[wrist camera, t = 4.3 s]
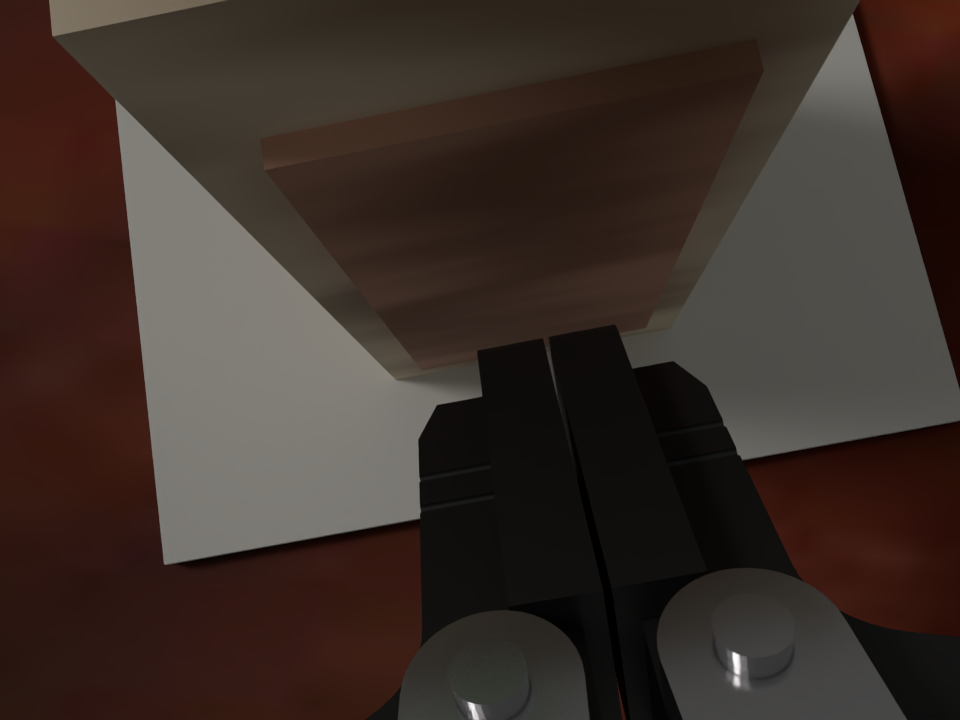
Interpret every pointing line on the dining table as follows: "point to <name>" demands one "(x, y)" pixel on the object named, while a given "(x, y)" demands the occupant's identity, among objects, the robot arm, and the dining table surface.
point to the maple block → (468, 147)
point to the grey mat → (689, 342)
